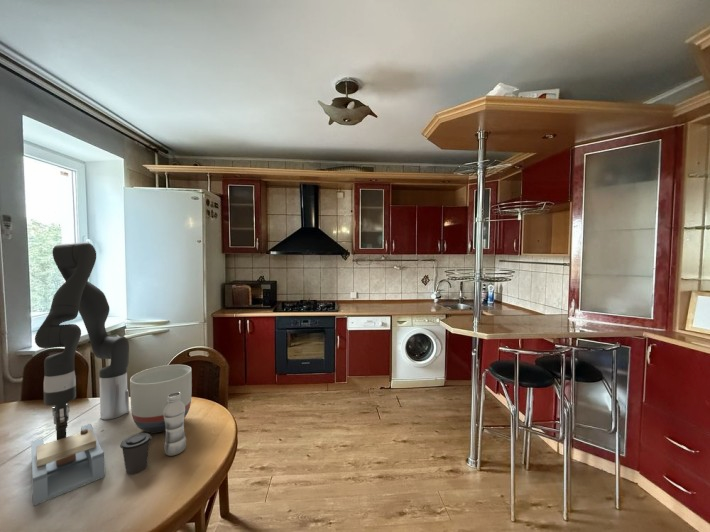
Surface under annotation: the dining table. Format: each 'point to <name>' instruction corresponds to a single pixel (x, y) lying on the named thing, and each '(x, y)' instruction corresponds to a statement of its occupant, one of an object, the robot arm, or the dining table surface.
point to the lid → (65, 447)
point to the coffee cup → (136, 452)
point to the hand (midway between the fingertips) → (61, 439)
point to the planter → (158, 394)
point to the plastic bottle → (174, 425)
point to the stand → (66, 472)
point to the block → (65, 460)
